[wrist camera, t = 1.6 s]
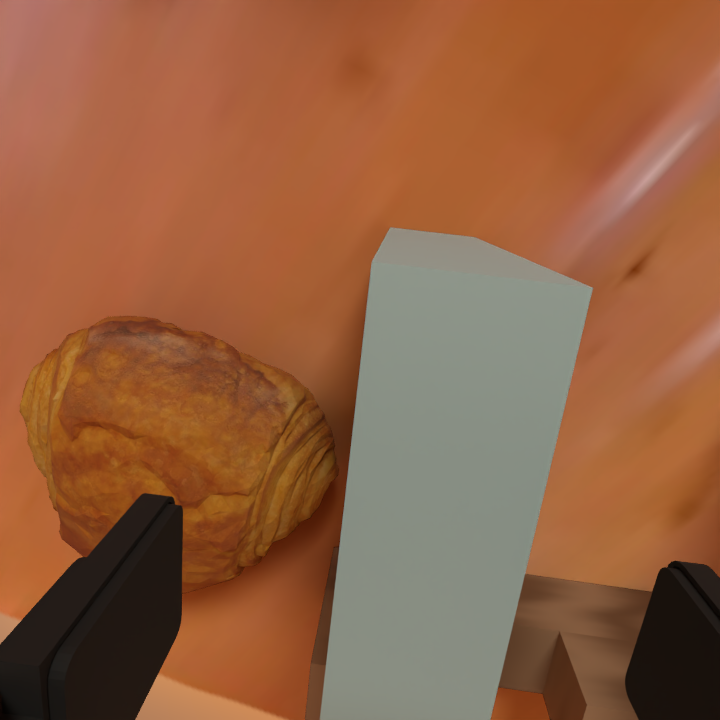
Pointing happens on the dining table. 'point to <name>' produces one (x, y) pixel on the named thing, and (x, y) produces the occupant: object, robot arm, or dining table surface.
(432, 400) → the plain rectangular block
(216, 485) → the croissant
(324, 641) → the mottled brown block
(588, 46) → the dining table surface
